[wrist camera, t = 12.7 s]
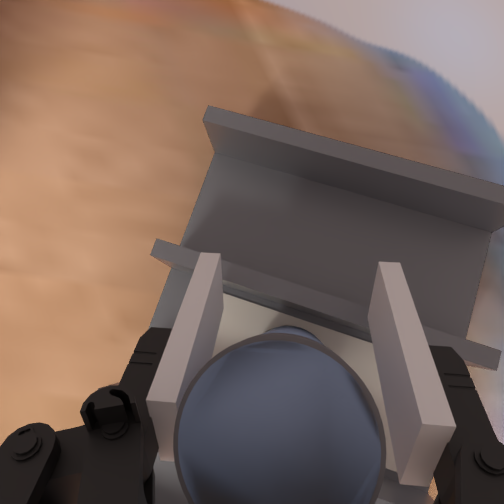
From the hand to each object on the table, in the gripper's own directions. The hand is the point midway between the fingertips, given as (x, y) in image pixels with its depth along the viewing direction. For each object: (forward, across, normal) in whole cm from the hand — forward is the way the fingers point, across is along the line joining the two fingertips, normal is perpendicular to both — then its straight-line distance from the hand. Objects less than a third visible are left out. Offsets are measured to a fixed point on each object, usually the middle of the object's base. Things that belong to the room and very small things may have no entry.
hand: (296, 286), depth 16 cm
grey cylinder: (+1, 0, -6) cm, 6 cm away
